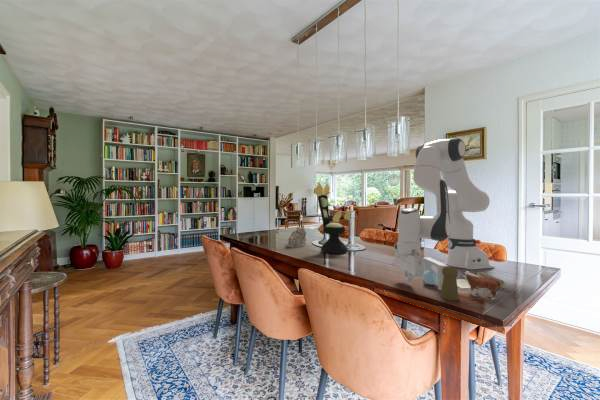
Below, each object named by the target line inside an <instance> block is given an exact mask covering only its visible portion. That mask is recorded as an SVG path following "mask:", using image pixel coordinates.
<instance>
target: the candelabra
mask: <svg viewBox="0 0 600 400" xmlns="http://www.w3.org/2000/svg"><path fill="white" fill-rule="evenodd" d="M330 189H331V188H330V186H329V183H328V182H326V183H325V185H324V186H323V185H322V184H321V183H320V181H318V182H317V185H316V188H315V190H314V193H315V194H316V195H317V200H318V201H317V202H318V206H319V210H320V215H321V220H322V221H321V222H322V226H323V228H322V231H323V233H325V234H327V235H329V238H328V240H326V241H325V242H324V243H323V244H322V245H321V248H320V251H321V253H325V254H330V255H341V254H346V253H347V252H348V248H347V245H345V243H344V242H343V241H341V240H340V237H339V235H343V234H344V233H345V232H346V228H345V226H343V224H341V223H340V220H351V218H350V217H351V216H352V215H353V213H352V214H351V215H350V209H349V210H347V211H346V212H345V214H344V215H342V209H340V210H338V211H337V212H335V213H334V215H330V212H329V200H328V198H329V197H328V196H329V195H330V194H331V192H330Z"/></svg>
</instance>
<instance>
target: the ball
mask: <svg viewBox="0 0 600 400" xmlns="http://www.w3.org/2000/svg"><path fill="white" fill-rule="evenodd" d="M422 280H423V281H424V283H425V284H427V285H430V286H431V285H432V286H433V285H436V284H438V272H436V271H435V270H427V271H425V272H424V274H423V276H422Z"/></svg>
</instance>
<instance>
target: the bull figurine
mask: <svg viewBox="0 0 600 400" xmlns="http://www.w3.org/2000/svg"><path fill="white" fill-rule="evenodd" d="M462 277H463V279H466V280H467V281H468V284H469V285H470V287H471V289H469V290H470V291H469V292H468V293H467V294H468V295H473V291H474V290H475V292H474V294H475V295H479V291H478V289H480V290H482V291H483V292H486V291H488V290H489V291H490V293H489V294H488V295H487V298H490V301H494V300H495V299H496V296H498V292H499V290H500V289H499V288H500V283H499V281H497V280H493V279H488V278H483V277H480V276H477V274H474V273H473V272H470V271H469V270H466V271H464V272H463V273H462ZM498 286H499V287H498Z"/></svg>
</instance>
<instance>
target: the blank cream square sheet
mask: <svg viewBox="0 0 600 400" xmlns="http://www.w3.org/2000/svg"><path fill="white" fill-rule="evenodd" d="M456 280H457V288H458V289H461V290H462V289H463V290H464V289H469V290H470V289H471V287H470V285H469V284H468V281H467V280H466V278H456Z"/></svg>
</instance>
